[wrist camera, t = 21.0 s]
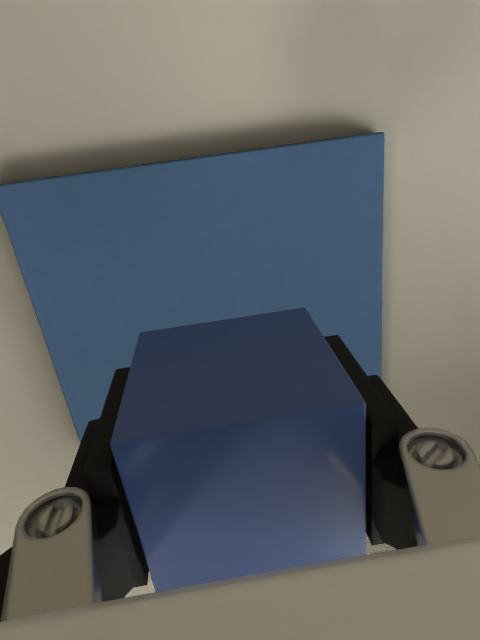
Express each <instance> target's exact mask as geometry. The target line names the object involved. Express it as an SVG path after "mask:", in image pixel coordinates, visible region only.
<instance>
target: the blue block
mask: <svg viewBox="0 0 480 640" xmlns="http://www.w3.org/2000/svg"><path fill="white" fill-rule="evenodd" d="M110 446H111V450H112V453H113V456H114V459H115V462H116V466H117V469H118V472H119V475H120V478H121V482H122V485H123V488H124V491H125V495H126V498H127V501H128V504H129V507H130V511H131V514H132V517H133V520H134V523H135V527H136V530H137V533H138V536H139V539H140V543H141V546H142V549H143V552H144V556H145V559H146V562H147V565H148V568H149V572H150V575H151V578H152V581H153V584H154V588H155V591H156V592H160V591H165V590H171V589H176V588H182V587H187V586H193V585H198V584H204V583H209V582H215V581H221V580H226V579H232V578H238V577H243V576H249V575H254V574H260V573H266V572H271V571H277V570H283V569H288V568H294V567H300V566H305V565H311V564H317V563H322V562H328V561H334V560H340V559H346V558H351V557H357V556H363V555H366V403H365V401H364V399H363V398H362V396H361V395H360V393H359V391H358V390H357V388H356V387H355V385H354V384H353V382H352V380H351V379H350V377H349V376H348V374H347V372H346V371H345V369H344V368H343V366H342V365H341V363H340V361H339V360H338V358H337V357H336V355H335V353H334V352H333V350H332V349H331V347H330V346H329V344H328V342H327V341H326V339H325V338H324V336H323V335H322V333H321V331H320V330H319V328H318V327H317V325H316V323H315V322H314V320H313V319H312V317H311V316H310V314H309V312H308V311H307V309H306V308H297V309H291V310H284V311H278V312H271V313H264V314H258V315H251V316H245V317H238V318H232V319H225V320H219V321H212V322H205V323H199V324H192V325H186V326H179V327H173V328H166V329H160V330H153V331H146V332H141V333H139V337H138V340H137V344H136V348H135V352H134V356H133V359H132V363H131V367H130V371H129V374H128V378H127V382H126V386H125V390H124V393H123V397H122V401H121V405H120V408H119V412H118V416H117V420H116V423H115V427H114V431H113V435H112V439H111V442H110Z"/></svg>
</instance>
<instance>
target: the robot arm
mask: <svg viewBox="0 0 480 640" xmlns="http://www.w3.org/2000/svg"><path fill="white" fill-rule="evenodd" d="M324 338H325V339H326V341H327V342H328V344H329V346H330V347H331V349H332V350H333V352H334V353H335V355H336V357H337V358H338V360H339V361H340V363H341V365H342V366H343V368H344V369H345V371H346V372H347V374H348V376H349V377H350V379H351V380H352V382H353V384H354V385H355V387H356V388H357V390H358V391H359V393H360V395H361V396H362V398H363V399H364V401H365V403H366V533H367V535H368V537H369V540H370V542H371V544H372V545H377V544H383V543H386V544H388V545H390V546H392V547H394V548H395V550H392V551H386V552H381V553H375V554H369V555H363V556H357V557H351V558H346V559H340V560H334V561H328V562H322V563H317V564H311V565H305V566H300V567H294V568H288V569H283V570H277V571H271V572H266V573H260V574H254V575H249V576H243V577H238V578H232V579H226V580H221V581H215V582H209V583H204V584H198V585H193V586H187V587H182V588H176V589H171V590H165V591H160V592H154V593H149V594H143V595H138V596H132V597H127V598H125V596H126V594H127V593H128V592H129V591H130V590H131V589H132V588H133V587H139V586H144V585H147V582H148V573H149V568H148V565H147V562H146V559H145V556H144V552H143V549H142V546H141V543H140V539H139V536H138V533H137V530H136V527H135V523H134V520H133V517H132V514H131V511H130V507H129V504H128V501H127V498H126V495H125V491H124V488H123V485H122V482H121V478H120V475H119V472H118V469H117V466H116V462H115V459H114V456H113V453H112V450H111V446H110V442H111V439H112V435H113V431H114V427H115V423H116V420H117V416H118V412H119V408H120V405H121V401H122V397H123V393H124V390H125V386H126V382H127V378H128V374H129V371H130V367H126V368H119V369H116V370H115V373H114V376H113V379H112V382H111V385H110V388H109V391H108V394H107V397H106V400H105V403H104V407H103V410H102V413H101V416H100V419H94V420H90V421H89V422H88V424H87V427H86V429H85V432H84V435H83V438H82V441H81V443H80V446H79V449H78V452H77V455H76V457H75V460H74V463H73V466H72V468H71V471H70V474H69V477H68V480H67V482H66V485H65V487H63V488H59V489H55V490H53V491H50V492H48V493H46V494H44V495H42V496H41V497H39V498H37V499H36V500H34V501H33V502H32V503H31V504H30V505H29V506H28V507H27V508H26V509H25V510H24V511H23V513H22V514H21V516H20V517H19V519H18V522H17V525H16V528H15V534H14V540H13V546H12V547H11V548H10V549H8V550H7V551H6V552H4V553H3V554H2V555H0V640H480V464H479V462H478V460H477V458H476V456H475V453H474V451H473V450H472V448H471V447H470V446H469V444H468V443H467V442H466V441H465V440H463V439H462V438H461V437H459V436H457V435H455V434H453V433H451V432H449V431H445V430H441V429H437V428H419V429H418V428H417V426H416V425H415V424H414V422H413V421H412V420H411V418H410V417H409V416H408V414H407V413H406V412H405V410H404V409H403V408H402V406H401V405H400V404H399V402H398V401H397V400H396V398H395V397H394V396H393V394H392V393H391V392H390V390H389V389H388V388H387V386H386V385H385V384H384V382H383V381H382V380H381V378H380V377H379V376H378V375H369V376H367V375H366V373H365V372H364V370H363V369H362V368H361V366H360V365H359V363H358V362H357V361H356V359H355V358H354V356H353V355H352V353H351V352H350V351H349V349H348V348H347V346H346V345H345V344H344V342H343V341H342V339H341V338H340V336H339V335H332V336H325V337H324Z"/></svg>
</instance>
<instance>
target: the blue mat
mask: <svg viewBox="0 0 480 640" xmlns="http://www.w3.org/2000/svg"><path fill="white" fill-rule="evenodd" d="M383 193H384V133H383V132H376V133H369V134H361V135H354V136H347V137H339V138H332V139H325V140H317V141H310V142H303V143H296V144H288V145H281V146H274V147H266V148H259V149H252V150H245V151H237V152H230V153H223V154H215V155H208V156H201V157H194V158H186V159H179V160H172V161H164V162H157V163H150V164H142V165H135V166H128V167H121V168H113V169H106V170H99V171H91V172H84V173H77V174H70V175H62V176H55V177H48V178H40V179H33V180H26V181H19V182H11V183H4V184H0V211H1V214H2V217H3V220H4V223H5V226H6V229H7V232H8V234H9V237H10V240H11V243H12V246H13V249H14V252H15V255H16V258H17V260H18V263H19V266H20V269H21V272H22V275H23V278H24V281H25V284H26V286H27V289H28V292H29V295H30V298H31V301H32V304H33V307H34V310H35V312H36V315H37V318H38V321H39V324H40V327H41V330H42V333H43V336H44V338H45V341H46V344H47V347H48V350H49V353H50V356H51V359H52V362H53V364H54V367H55V370H56V373H57V376H58V379H59V382H60V385H61V388H62V390H63V393H64V396H65V399H66V402H67V405H68V408H69V411H70V414H71V416H72V419H73V422H74V425H75V428H76V431H77V434H78V437H79V440H80V442H81V441H82V438H83V435H84V432H85V429H86V427H87V424H88V422H89V421H90V420H94V419H100V416H101V413H102V410H103V407H104V403H105V400H106V397H107V394H108V391H109V388H110V385H111V382H112V379H113V376H114V373H115V370H116V369H119V368H126V367H131V363H132V359H133V356H134V352H135V348H136V344H137V340H138V337H139V333H141V332H146V331H153V330H160V329H166V328H173V327H179V326H186V325H192V324H199V323H205V322H212V321H219V320H225V319H232V318H238V317H245V316H251V315H258V314H264V313H271V312H278V311H284V310H291V309H297V308H306V309H307V311H308V312H309V314H310V316H311V317H312V319H313V320H314V322H315V323H316V325H317V327H318V328H319V330H320V331H321V333H322V335H323V336H324V337H325V336H332V335H339V336H340V338H341V339H342V341H343V342H344V344H345V345H346V346H347V348H348V349H349V351H350V352H351V353H352V355H353V356H354V358H355V359H356V361H357V362H358V363H359V365H360V366H361V368H362V369H363V370H364V372H365V373H366V375H367V376H369V375H378V376H379V377H380V378H381V330H382V261H383Z"/></svg>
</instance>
